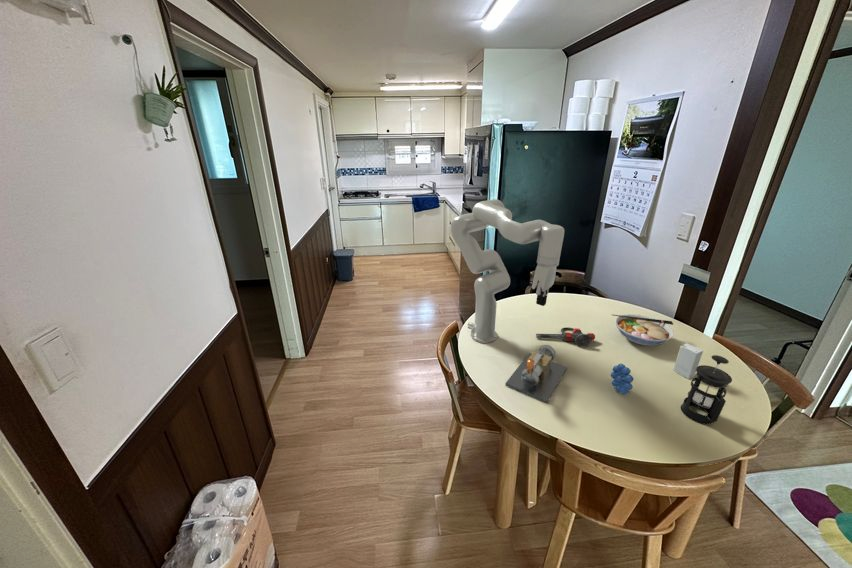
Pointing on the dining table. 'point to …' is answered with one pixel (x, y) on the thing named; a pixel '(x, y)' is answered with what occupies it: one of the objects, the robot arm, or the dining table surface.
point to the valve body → (538, 376)
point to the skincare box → (687, 360)
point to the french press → (704, 399)
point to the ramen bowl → (644, 329)
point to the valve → (572, 336)
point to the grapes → (622, 379)
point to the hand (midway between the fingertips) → (540, 304)
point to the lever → (534, 361)
